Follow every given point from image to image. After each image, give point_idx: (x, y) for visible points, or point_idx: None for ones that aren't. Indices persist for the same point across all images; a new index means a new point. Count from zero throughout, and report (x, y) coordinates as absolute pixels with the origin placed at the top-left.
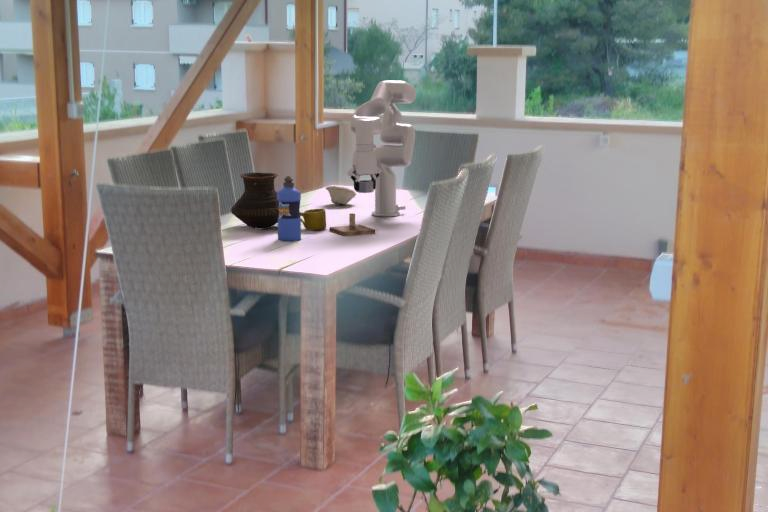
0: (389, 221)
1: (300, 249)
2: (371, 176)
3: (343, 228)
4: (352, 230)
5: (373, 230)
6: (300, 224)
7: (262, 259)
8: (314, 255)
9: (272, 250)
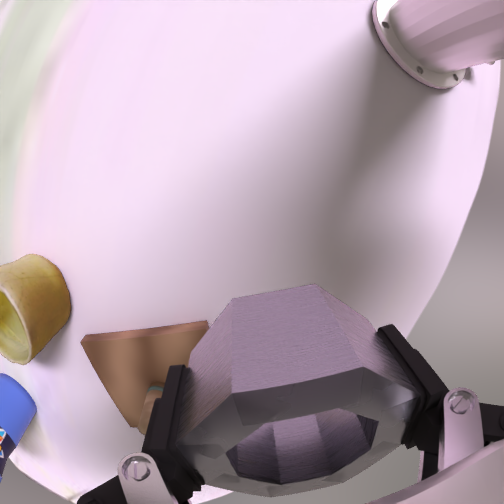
0: (396, 190)
1: (60, 461)
2: (445, 441)
3: (128, 381)
4: None
5: None
6: (22, 432)
7: (34, 469)
8: (90, 489)
9: (24, 445)
